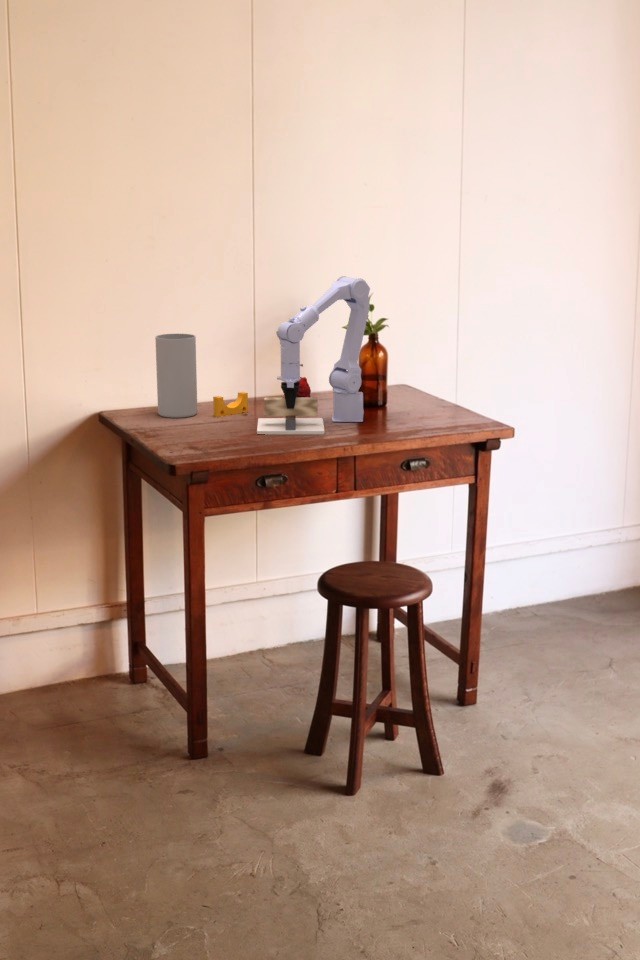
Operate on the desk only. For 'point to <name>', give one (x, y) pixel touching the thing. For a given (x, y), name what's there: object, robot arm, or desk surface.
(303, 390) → the red clay folk toy
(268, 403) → the oak bar
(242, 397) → the pipe clamp
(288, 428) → the stand
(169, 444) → the desk surface
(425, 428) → the desk surface
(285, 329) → the robot arm
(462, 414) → the desk surface
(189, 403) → the cylinder vase
